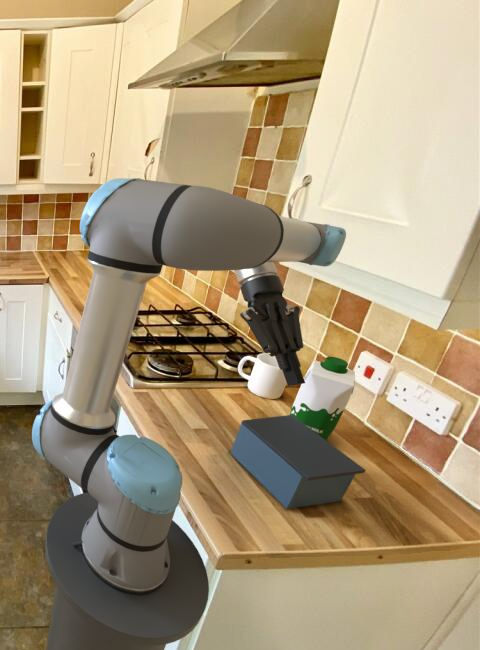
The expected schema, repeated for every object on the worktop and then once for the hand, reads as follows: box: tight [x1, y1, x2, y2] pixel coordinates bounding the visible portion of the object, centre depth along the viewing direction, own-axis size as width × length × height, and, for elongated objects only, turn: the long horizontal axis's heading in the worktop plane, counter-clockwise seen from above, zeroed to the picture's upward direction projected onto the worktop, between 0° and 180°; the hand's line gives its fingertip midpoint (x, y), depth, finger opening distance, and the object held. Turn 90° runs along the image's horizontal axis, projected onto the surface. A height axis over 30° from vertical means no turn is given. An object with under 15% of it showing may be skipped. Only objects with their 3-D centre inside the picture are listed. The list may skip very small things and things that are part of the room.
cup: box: [237, 352, 287, 400], centre depth 117 cm, size 8×12×10 cm
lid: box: [241, 414, 366, 481], centre depth 85 cm, size 17×13×1 cm
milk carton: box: [289, 356, 356, 441], centre depth 98 cm, size 9×9×20 cm
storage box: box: [230, 422, 357, 510], centre depth 88 cm, size 16×13×9 cm
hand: (296, 384), depth 85 cm, fingers closed
